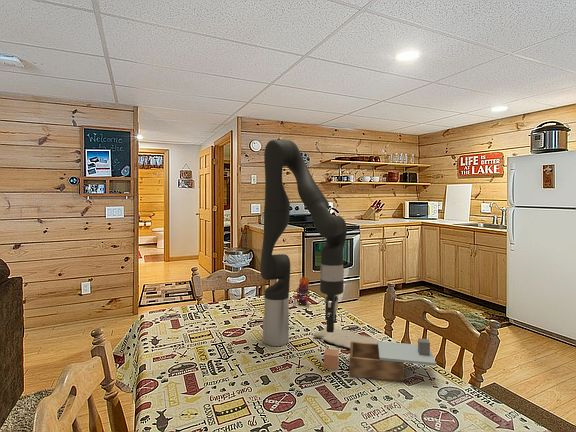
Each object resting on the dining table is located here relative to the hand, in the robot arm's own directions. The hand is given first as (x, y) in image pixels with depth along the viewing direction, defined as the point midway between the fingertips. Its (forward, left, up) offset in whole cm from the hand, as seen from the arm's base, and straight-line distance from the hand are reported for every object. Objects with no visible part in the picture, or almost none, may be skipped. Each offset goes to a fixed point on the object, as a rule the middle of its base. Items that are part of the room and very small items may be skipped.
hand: (331, 327), depth 113 cm
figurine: (-20, +58, -13) cm, 63 cm away
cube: (0, 0, -13) cm, 13 cm away
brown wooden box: (+14, 0, -13) cm, 19 cm away
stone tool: (+5, +20, -14) cm, 24 cm away
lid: (+23, 0, -7) cm, 24 cm away
